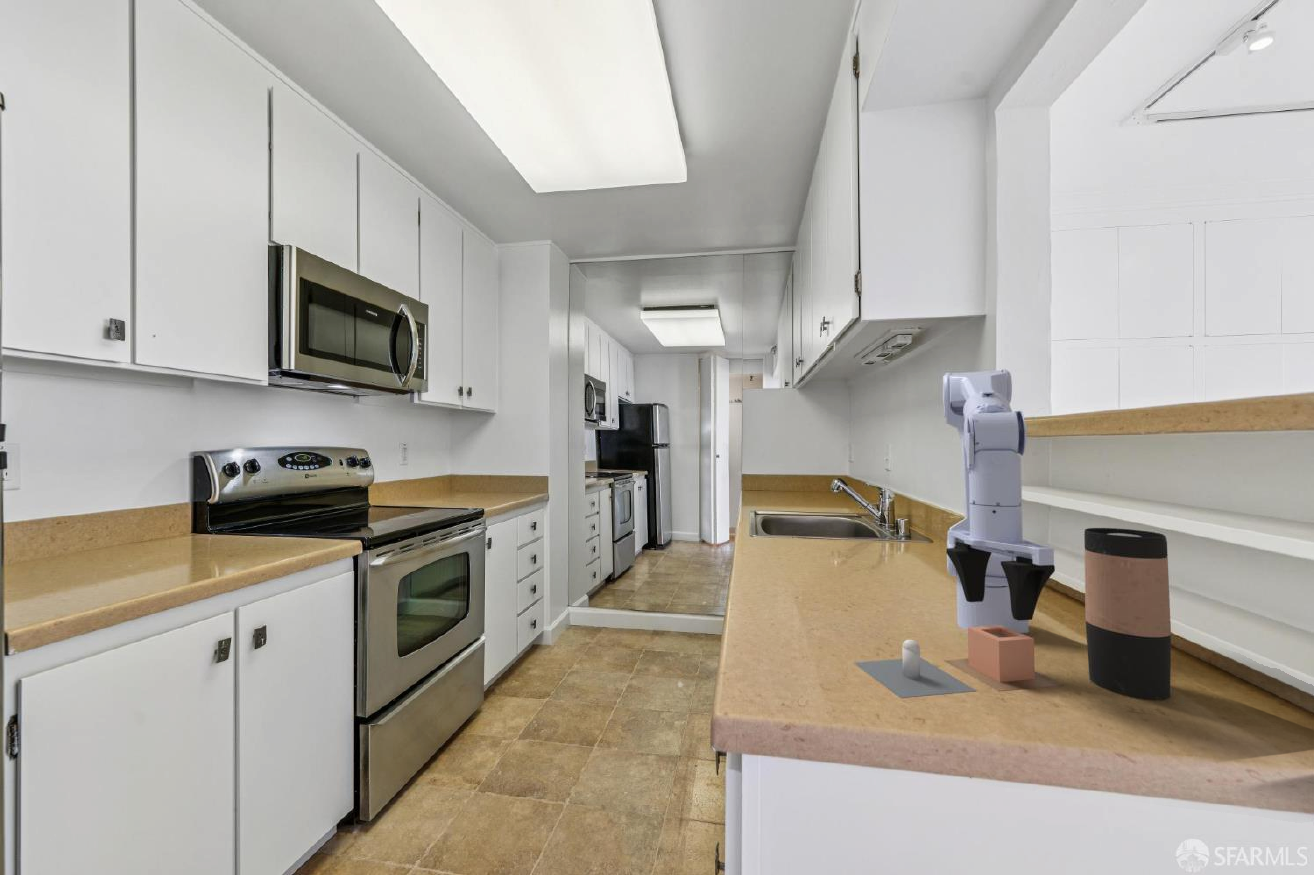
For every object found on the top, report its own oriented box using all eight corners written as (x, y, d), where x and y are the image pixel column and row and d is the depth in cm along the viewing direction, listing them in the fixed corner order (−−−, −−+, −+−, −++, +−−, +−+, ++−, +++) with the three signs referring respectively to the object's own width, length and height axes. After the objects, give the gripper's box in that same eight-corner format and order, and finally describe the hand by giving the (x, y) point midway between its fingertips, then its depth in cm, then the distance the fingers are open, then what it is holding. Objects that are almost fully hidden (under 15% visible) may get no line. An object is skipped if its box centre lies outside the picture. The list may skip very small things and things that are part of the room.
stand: (1002, 666, 71) (1001, 623, 71) (1063, 697, 62) (1062, 647, 63) (944, 671, 70) (943, 627, 70) (999, 703, 61) (998, 652, 61)
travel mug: (1071, 683, 66) (1067, 527, 67) (1132, 684, 66) (1128, 527, 66) (1123, 713, 58) (1118, 537, 59) (1193, 714, 58) (1187, 537, 59)
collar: (1001, 662, 69) (1000, 625, 69) (1034, 679, 64) (1033, 638, 64) (968, 665, 68) (967, 627, 68) (999, 682, 63) (998, 641, 63)
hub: (920, 668, 71) (919, 624, 71) (977, 703, 61) (976, 652, 61) (853, 673, 69) (853, 628, 69) (901, 710, 59) (900, 658, 59)
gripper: (929, 499, 73) (930, 595, 73) (1015, 511, 59) (1018, 630, 59) (973, 498, 74) (974, 593, 74) (1068, 510, 60) (1071, 627, 60)
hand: (997, 609), depth 66 cm, fingers open, 7 cm apart
